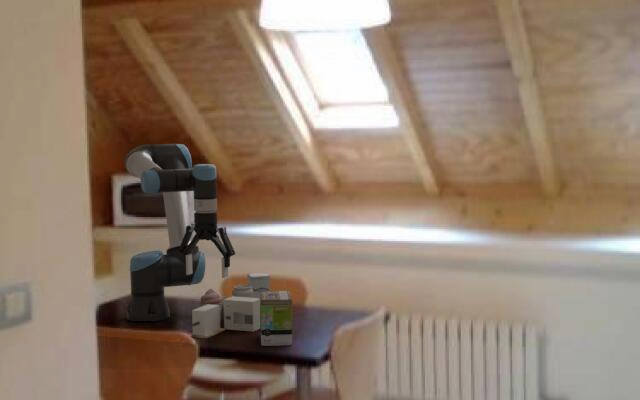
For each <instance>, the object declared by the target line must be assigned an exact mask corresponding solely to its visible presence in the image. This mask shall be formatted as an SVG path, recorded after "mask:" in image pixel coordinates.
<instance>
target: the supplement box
mask: <svg viewBox="0 0 640 400" xmlns="http://www.w3.org/2000/svg"><path fill="white" fill-rule="evenodd" d="M246 276H247V285H250V286H252V287H251V288H252V290H253V291H254V298H260V292H266V291H271V277H270V276H271V275H269V273H267V272H257V273H255V272H254V273H247V275H246Z"/></svg>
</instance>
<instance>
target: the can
mask: <svg viewBox="0 0 640 400" xmlns="http://www.w3.org/2000/svg"><path fill="white" fill-rule="evenodd" d="M251 287H252V286H250V285H248V284H239V285H235V286H234V287H233V289H232V291H231V297H232V296H234V297H248V298H254V291H253V290H252V288H251Z"/></svg>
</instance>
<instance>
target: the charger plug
mask: <svg viewBox="0 0 640 400" xmlns="http://www.w3.org/2000/svg"><path fill="white" fill-rule="evenodd" d="M191 314H192V315H191V318H192V333H193V335H203V336H205V335H208V334H210V333H212V332H214V331H216V330H219V329H220V328H221V321H222V320H223V319H222V317H223V316H222V310H221V311H220V305H210V304H207V305H205V306H202V307H200V306H199V307H197V308H194V309H192V311H191Z"/></svg>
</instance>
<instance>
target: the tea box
mask: <svg viewBox="0 0 640 400" xmlns="http://www.w3.org/2000/svg"><path fill="white" fill-rule="evenodd" d="M259 330H260V345H261V346H262V347H264V346H265V347H275V346H277V347H278V346H292V345H293V299H292V295H291V291H289V290H275V291H274V290H272V291H271V290H270V291H266V292H260V329H259Z"/></svg>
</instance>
